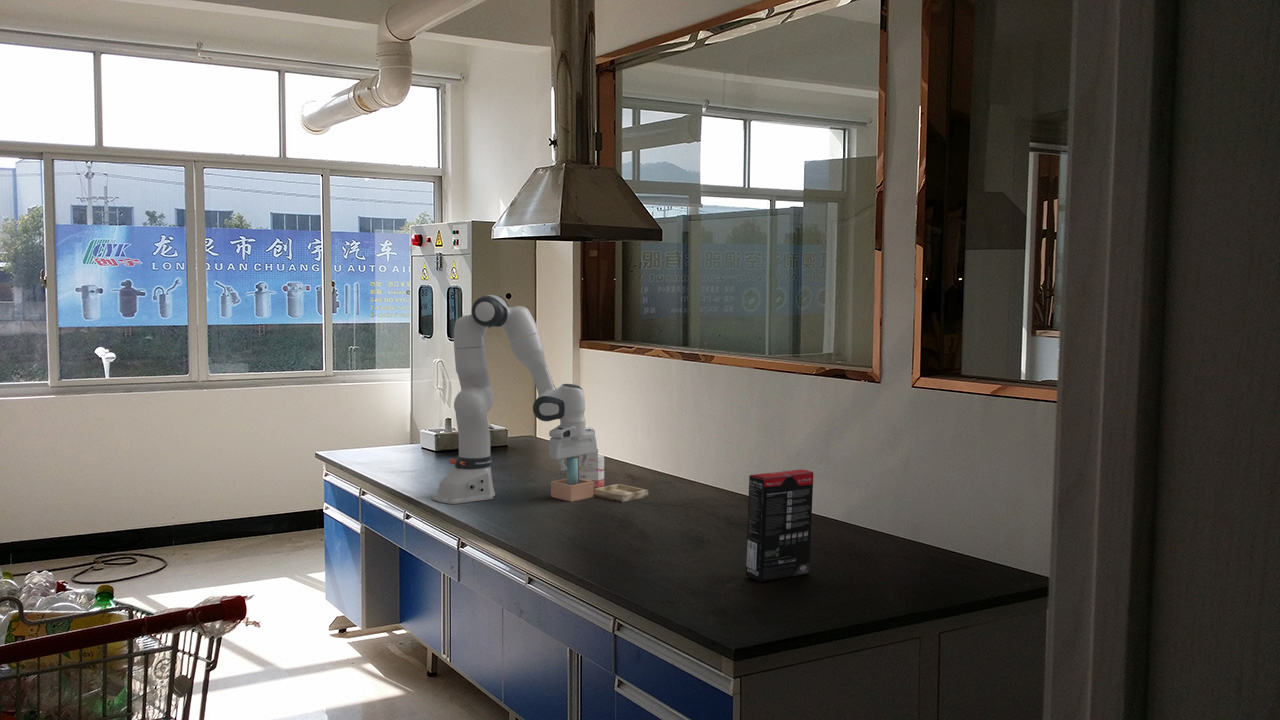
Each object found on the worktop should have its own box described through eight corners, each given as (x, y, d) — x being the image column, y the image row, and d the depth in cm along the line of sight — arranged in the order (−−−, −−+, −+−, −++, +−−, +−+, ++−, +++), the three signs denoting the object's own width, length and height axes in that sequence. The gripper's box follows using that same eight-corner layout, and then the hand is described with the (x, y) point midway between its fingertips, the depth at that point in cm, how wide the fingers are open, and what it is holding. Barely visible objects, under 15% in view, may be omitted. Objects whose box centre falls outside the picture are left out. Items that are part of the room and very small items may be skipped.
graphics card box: (795, 567, 265) (796, 467, 263) (812, 574, 259) (814, 471, 257) (744, 577, 256) (746, 473, 254) (761, 584, 250) (763, 477, 248)
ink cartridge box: (604, 485, 370) (605, 446, 369) (598, 488, 365) (598, 448, 364) (585, 483, 374) (585, 445, 373) (578, 486, 369) (578, 447, 368)
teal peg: (571, 498, 348) (571, 459, 347) (564, 496, 350) (564, 457, 349) (580, 496, 350) (580, 457, 349) (572, 495, 353) (572, 456, 352)
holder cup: (571, 501, 343) (571, 485, 343) (551, 496, 350) (551, 481, 350) (593, 496, 351) (593, 481, 350) (573, 492, 358) (573, 477, 357)
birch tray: (622, 502, 342) (622, 495, 342) (592, 495, 353) (592, 488, 352) (648, 496, 352) (648, 489, 352) (618, 490, 362) (618, 483, 362)
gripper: (588, 425, 358) (589, 463, 359) (545, 432, 343) (546, 471, 345) (600, 427, 354) (601, 465, 355) (557, 434, 339) (558, 474, 340)
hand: (573, 468), depth 350 cm, fingers open, 8 cm apart
